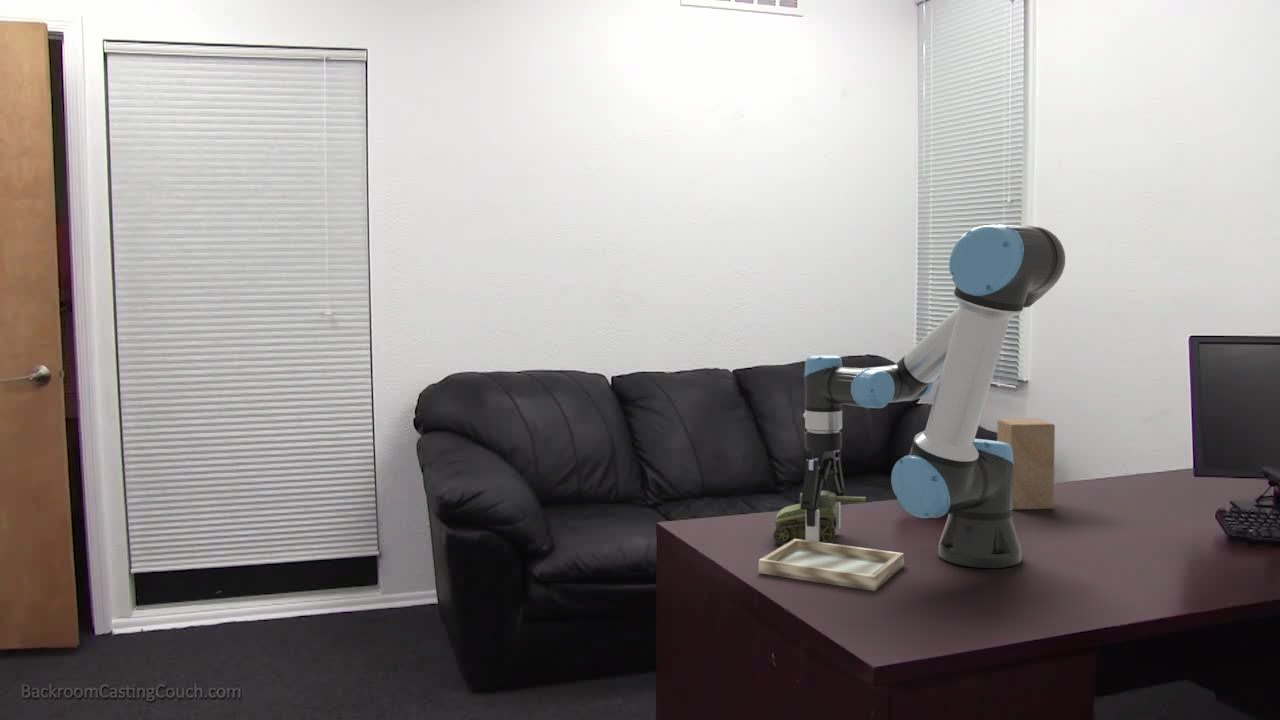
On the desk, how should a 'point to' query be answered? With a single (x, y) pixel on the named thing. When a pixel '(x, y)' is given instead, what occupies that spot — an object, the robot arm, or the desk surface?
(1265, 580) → the desk surface
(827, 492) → the toy
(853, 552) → the beige tray
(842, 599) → the desk surface
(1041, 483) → the wooden block
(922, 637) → the desk surface
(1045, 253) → the robot arm
